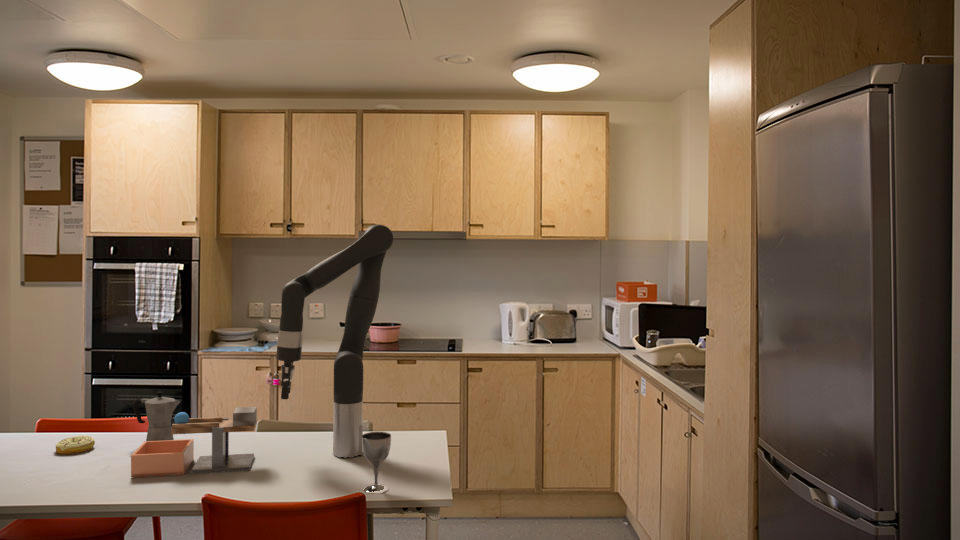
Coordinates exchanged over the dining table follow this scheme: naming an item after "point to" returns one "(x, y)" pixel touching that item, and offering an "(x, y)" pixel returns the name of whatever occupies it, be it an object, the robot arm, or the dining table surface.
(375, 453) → the wine glass
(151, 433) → the coffeepot
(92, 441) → the decorated donut
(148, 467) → the cup
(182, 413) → the ball
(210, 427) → the lever
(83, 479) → the dining table surface
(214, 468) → the lever stand
